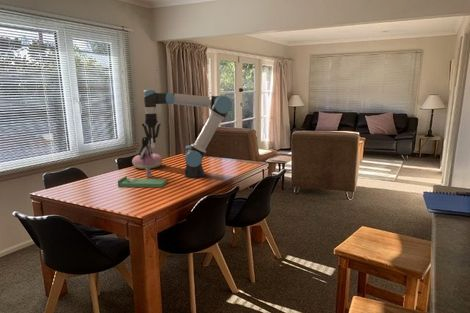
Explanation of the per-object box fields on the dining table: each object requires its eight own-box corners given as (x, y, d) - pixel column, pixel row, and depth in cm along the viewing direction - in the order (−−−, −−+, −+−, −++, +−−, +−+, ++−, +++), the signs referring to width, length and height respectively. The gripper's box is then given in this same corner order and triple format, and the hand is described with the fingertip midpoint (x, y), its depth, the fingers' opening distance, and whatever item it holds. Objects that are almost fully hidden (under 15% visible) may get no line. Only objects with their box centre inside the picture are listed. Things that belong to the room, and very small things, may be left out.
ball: (137, 179, 227) (131, 177, 227) (135, 178, 223) (129, 177, 224) (135, 184, 227) (129, 183, 227) (133, 184, 223) (128, 182, 223)
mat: (167, 182, 229) (166, 176, 228) (161, 187, 217) (161, 181, 217) (125, 181, 232) (125, 176, 231) (118, 186, 220) (117, 180, 219)
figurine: (147, 180, 234) (145, 139, 228) (134, 180, 236) (131, 138, 230) (160, 173, 255) (158, 134, 249) (148, 172, 257) (146, 134, 251)
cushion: (165, 163, 291) (164, 152, 289) (160, 170, 266) (159, 157, 264) (136, 163, 290) (136, 152, 288) (128, 170, 265) (127, 158, 263)
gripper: (162, 112, 224) (163, 146, 229) (143, 112, 226) (145, 146, 230) (158, 113, 217) (160, 148, 222) (139, 113, 218) (141, 148, 223)
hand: (152, 147), depth 226 cm, fingers closed
